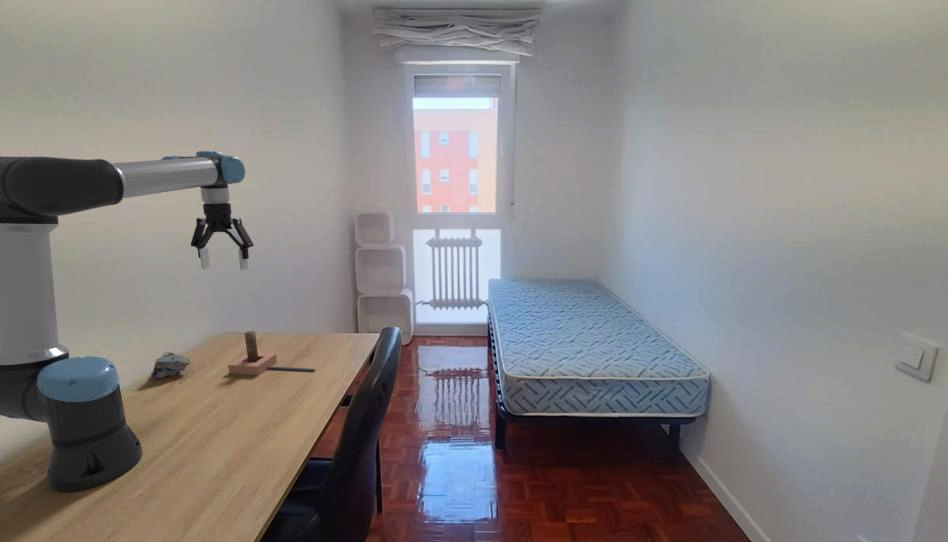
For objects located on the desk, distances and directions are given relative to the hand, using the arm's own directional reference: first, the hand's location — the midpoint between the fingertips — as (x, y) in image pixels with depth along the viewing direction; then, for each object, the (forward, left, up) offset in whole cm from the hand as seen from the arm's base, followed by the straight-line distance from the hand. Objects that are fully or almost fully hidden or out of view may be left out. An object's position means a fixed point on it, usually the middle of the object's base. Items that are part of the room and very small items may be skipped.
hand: (225, 268), depth 139 cm
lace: (-5, -22, -32) cm, 39 cm away
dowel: (-5, -9, -32) cm, 34 cm away
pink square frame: (-5, -9, -32) cm, 34 cm away
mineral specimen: (-12, +13, -32) cm, 37 cm away
